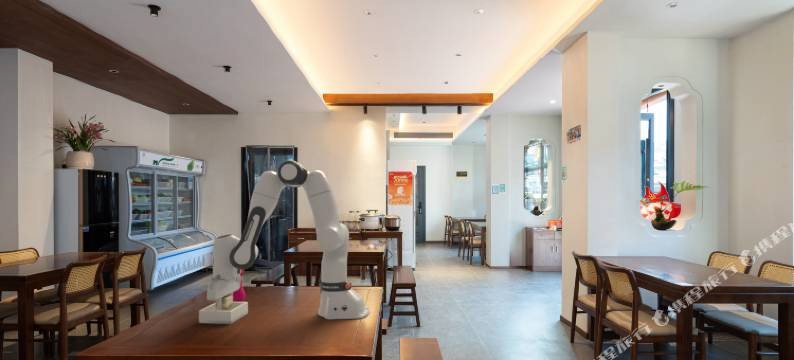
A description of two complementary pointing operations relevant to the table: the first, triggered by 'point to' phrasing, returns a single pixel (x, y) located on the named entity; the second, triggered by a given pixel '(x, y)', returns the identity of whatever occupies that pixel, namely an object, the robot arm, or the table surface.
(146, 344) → the table surface
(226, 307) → the birch block
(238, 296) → the pepper mill
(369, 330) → the table surface
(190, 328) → the table surface
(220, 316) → the serving bin
